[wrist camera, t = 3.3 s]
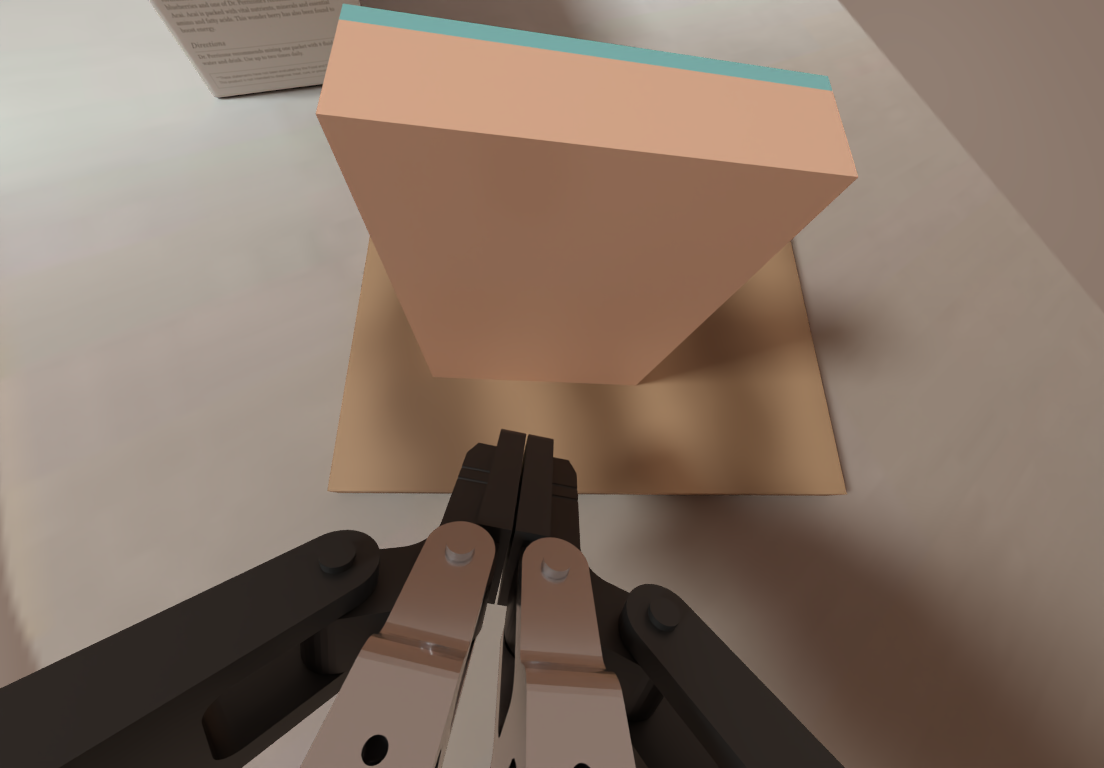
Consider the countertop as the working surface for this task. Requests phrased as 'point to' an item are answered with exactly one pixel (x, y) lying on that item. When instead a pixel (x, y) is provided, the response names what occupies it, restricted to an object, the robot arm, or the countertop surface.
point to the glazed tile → (568, 187)
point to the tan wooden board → (603, 407)
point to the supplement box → (254, 41)
